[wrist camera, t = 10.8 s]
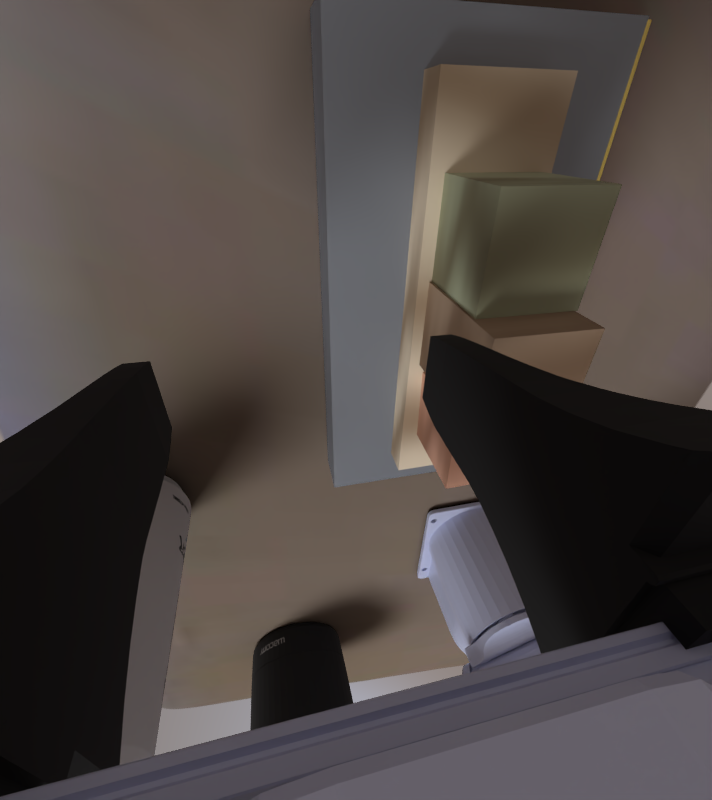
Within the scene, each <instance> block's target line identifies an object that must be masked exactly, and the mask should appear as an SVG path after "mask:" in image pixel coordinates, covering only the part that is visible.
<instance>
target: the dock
mask: <svg viewBox="0 0 712 800" xmlns="http://www.w3.org/2000/svg"><path fill="white" fill-rule="evenodd" d="M648 18H649V16H647V15H635V14H622V13H610V12H597V11H585V10H572V9H560V8H547V7H535V6H522V5H510V4H497V3H485V2H472V1H460V0H314V2H313V4H312V6H311V8H310V19H311V44H312V69H313V95H314V120H315V145H316V170H317V195H318V220H319V245H320V270H321V295H322V320H323V345H324V370H325V396H326V421H327V446H328V462H329V466H330V471H331V475H332V479H333V483H334V487H340V486H346V485H352V484H359V483H365V482H371V481H378V480H384V479H390V478H397V477H403V476H409V475H416V474H422V473H428V472H434V471H436V469H435V467H434V465H429V466H423V467H416V468H410V469H403V470H398V468H397V466H396V463H395V461H394V459H393V456H392V454H391V448H392V436H393V425H394V413H395V402H396V390H397V378H398V367H399V355H400V344H401V332H402V320H403V309H404V297H405V286H406V274H407V262H408V251H409V239H410V228H411V216H412V204H413V193H414V181H415V170H416V158H417V146H418V135H419V123H420V112H421V100H422V88H423V77H424V69H427V68H430V67H433V66H437V65H440V64H450V65H471V66H492V67H512V68H533V69H554V70H575V71H578V73H577V77H576V81H575V85H574V88H573V92H572V96H571V100H570V104H569V108H568V112H567V115H566V119H565V123H564V127H563V131H562V135H561V138H560V142H559V146H558V150H557V154H556V158H555V162H554V165H553V169H552V173H553V174H559V175H566V176H572V177H578V178H585V179H591V180H597V181H600V178H601V175H602V172H603V169H604V166H605V162H606V159H607V156H608V153H609V150H610V147H611V144H612V141H613V138H614V135H615V132H616V129H617V125H618V122H619V119H620V116H621V113H622V110H623V107H624V104H625V101H626V98H627V95H628V91H629V88H630V85H631V82H632V79H633V76H634V73H635V70H636V67H637V64H638V61H639V58H640V54H641V51H642V48H643V45H644V42H645V39H646V36H647V33H648V30H649V27H650V24H651V20H649V19H648Z"/></svg>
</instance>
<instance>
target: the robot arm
mask: <svg viewBox="0 0 712 800" xmlns="http://www.w3.org/2000/svg"><path fill="white" fill-rule="evenodd" d="M422 398H423V401H424V403H425V406H426V408H427V411H428V413H429V416H430V418H431V420H432V422H433V425H434V427H435V428H436V430H437V432H438V433H439V435H440V437H441V438H442V440H443V442H444V443H445V445H446V447H447V448H448V450H449V452H450V453H451V455H452V456H453V458H454V460H455V461H456V463H457V464H458V466H459V468H460V469H461V471H462V473H463V474H464V476H465V477H466V479H467V481H468V482H469V484H470V486H471V487H472V489H473V491H474V493H475V495H476V496H477V498H478V500H479V502H475V503H469V504H464V505H458V506H452V507H447V508H441V509H435V510H431V511H430V512H429V513H428V515H427V520H426V526H425V531H424V537H423V542H422V548H421V553H420V559H419V565H418V570H417V575H418V578H427V577H429V580H430V582H431V585H432V587H433V590H434V592H435V595H436V597H437V600H438V602H439V605H440V607H441V610H442V613H443V615H444V618H445V620H446V623H447V625H448V628H449V630H450V633H451V635H452V637H453V639H454V641H455V643H456V644H457V645H458V647H459V648H460V649H461V650H462V651H463V652H464V653H465V654H466V655H467V657H468V660H469V662H470V663H468V664H466V665H464V666H463V670H462V675H459V676H455V677H451V678H448V679H444V680H440V681H436V682H432V683H429V684H425V685H421V686H417V687H414V688H410V689H406V690H403V691H398V692H395V693H391V694H387V695H383V696H379V697H376V698H372V699H368V700H364V701H360V702H357V703H353V704H349V705H345V706H341V707H338V708H334V709H330V710H326V711H323V712H319V713H315V714H311V715H307V716H304V717H300V718H296V719H292V720H288V721H285V722H281V723H277V724H273V725H270V726H266V727H262V728H258V729H254V730H251V731H247V732H243V733H239V734H236V735H232V736H228V737H224V738H220V739H217V740H213V741H209V742H206V743H202V744H198V745H194V746H190V747H186V748H183V749H179V750H175V751H171V752H167V753H164V754H160V755H156V756H152V757H148V758H145V759H141V760H137V761H133V762H130V763H126V764H122V765H120V754H121V741H122V728H123V715H124V702H125V692H126V682H127V673H128V663H129V653H130V644H131V636H132V628H133V621H134V613H135V605H136V598H137V591H138V585H139V579H140V572H141V566H142V559H143V555H144V550H145V546H146V541H147V537H148V534H149V530H150V527H151V523H152V519H153V516H154V512H155V509H156V505H157V501H158V498H159V494H160V491H161V487H162V483H163V480H164V476H165V472H166V468H167V464H168V460H169V452H170V443H171V432H172V426H171V423H170V420H169V417H168V414H167V411H166V408H165V405H164V402H163V399H162V396H161V393H160V390H159V387H158V384H157V381H156V378H155V375H154V372H153V369H152V366H151V363H150V361H149V362H138V363H126V364H121V365H119V366H117V367H116V368H114V369H112V370H111V371H109V372H108V373H106V374H105V375H103V376H102V377H100V378H99V379H97V380H96V381H94V382H93V383H91V384H90V385H89V386H87V387H86V388H84V389H83V390H81V391H80V392H78V393H77V394H76V395H74V396H73V397H71V398H70V399H68V400H67V401H65V402H64V403H63V404H61V405H60V406H58V407H57V408H55V409H54V410H52V411H50V412H49V413H47V414H46V415H44V416H43V417H41V418H39V419H38V420H36V421H35V422H33V423H32V424H30V425H28V426H27V427H25V428H24V429H22V430H21V431H19V432H18V433H16V434H14V435H13V436H11V437H9V438H8V439H6V440H4V441H2V442H1V443H0V800H712V411H711V410H705V409H699V408H693V407H686V406H680V405H674V404H668V403H663V402H657V401H652V400H647V399H643V398H638V397H634V396H629V395H625V394H620V393H616V392H612V391H608V390H604V389H600V388H597V387H593V386H590V385H586V384H583V383H580V382H576V381H573V380H569V379H566V378H563V377H560V376H557V375H555V374H552V373H549V372H546V371H544V370H541V369H538V368H536V367H533V366H530V365H528V364H525V363H523V362H520V361H518V360H515V359H513V358H511V357H508V356H506V355H504V354H501V353H499V352H497V351H494V350H492V349H490V348H487V347H485V346H482V345H480V344H478V343H475V342H473V341H470V340H468V339H465V338H462V337H459V336H456V335H452V334H449V335H438V336H430V343H429V351H428V358H427V366H426V374H425V381H424V389H423V396H422Z"/></svg>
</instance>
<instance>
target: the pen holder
mask: <svg viewBox="0 0 712 800" xmlns="http://www.w3.org/2000/svg"><path fill="white" fill-rule="evenodd" d="M349 704H353V700H352V695H351V691H350V686H349V681H348V676H347V672H346V667H345V662H344V658H343V654H342V649H341V645H340V641H339V637H338V634H337V633H336V631H335V630H333V629H332V628H331V627H330V626H328V625H325V624H322V623H314V622H306V623H298V624H293V625H289V626H286V627H283V628H280V629H278V630H275V631H273V632H272V633H270V634H268V635H267V636H265V637H264V638H263V639H262V640H261V641H260V642H259V643H258V645H257V647H256V648H255V650H254V655H253V672H252V698H251V730H254V729H258V728H262V727H266V726H270V725H273V724H277V723H281V722H285V721H288V720H292V719H296V718H300V717H304V716H307V715H311V714H315V713H319V712H323V711H326V710H330V709H334V708H338V707H341V706H345V705H349Z"/></svg>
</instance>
